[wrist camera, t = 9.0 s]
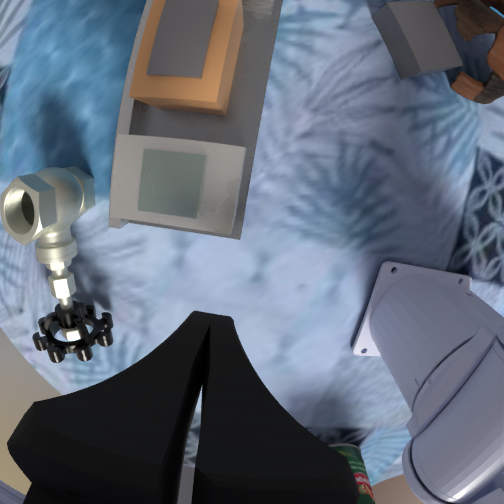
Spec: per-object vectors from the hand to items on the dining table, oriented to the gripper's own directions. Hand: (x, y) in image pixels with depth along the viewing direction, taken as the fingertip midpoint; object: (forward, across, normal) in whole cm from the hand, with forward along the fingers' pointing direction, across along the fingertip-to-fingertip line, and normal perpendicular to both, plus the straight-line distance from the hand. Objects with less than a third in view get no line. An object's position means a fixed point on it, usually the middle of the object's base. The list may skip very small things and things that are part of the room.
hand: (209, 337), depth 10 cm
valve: (+11, +11, +2) cm, 15 cm away
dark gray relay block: (+10, -10, -17) cm, 22 cm away
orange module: (+9, +3, -11) cm, 15 cm away
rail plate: (+10, +3, -11) cm, 15 cm away
